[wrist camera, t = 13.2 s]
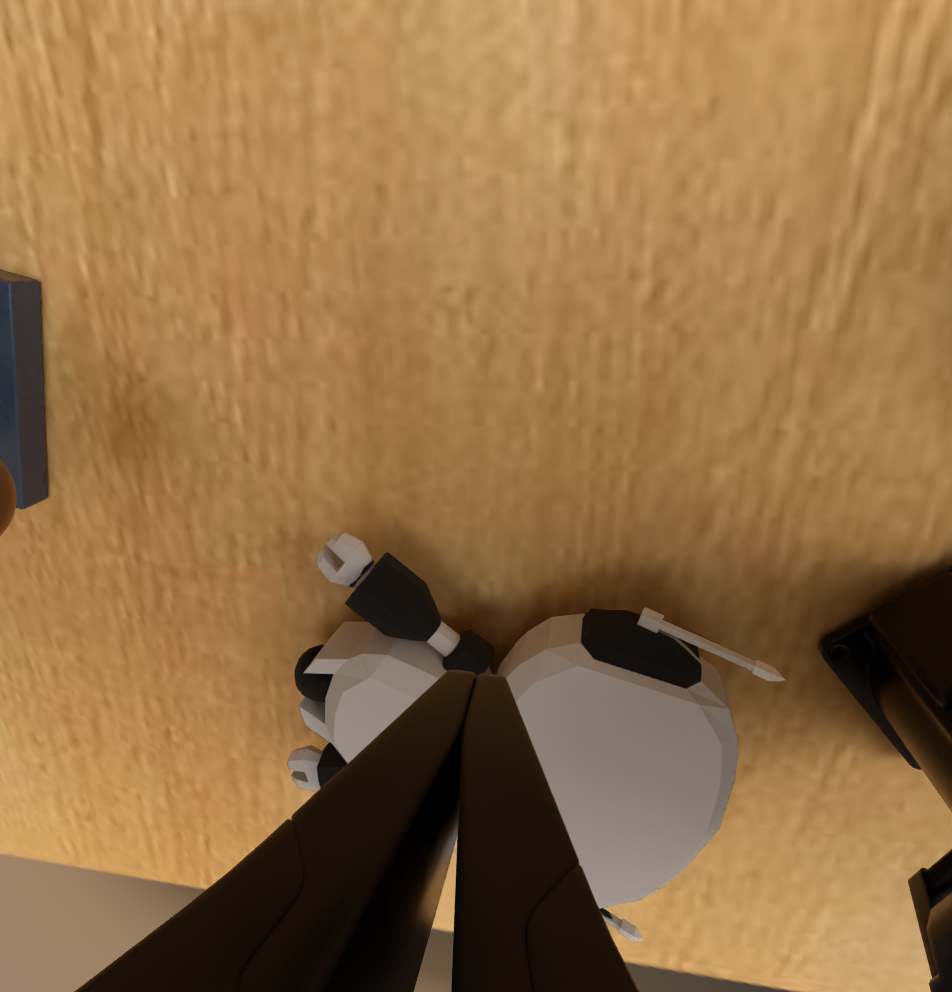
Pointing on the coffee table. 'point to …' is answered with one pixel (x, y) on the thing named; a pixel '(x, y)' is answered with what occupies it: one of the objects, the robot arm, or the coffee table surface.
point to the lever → (6, 497)
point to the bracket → (22, 388)
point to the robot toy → (545, 715)
